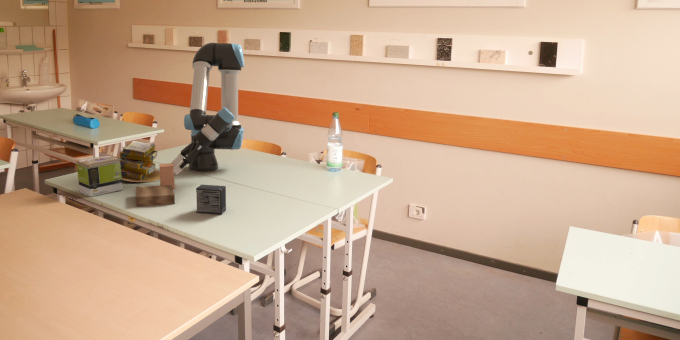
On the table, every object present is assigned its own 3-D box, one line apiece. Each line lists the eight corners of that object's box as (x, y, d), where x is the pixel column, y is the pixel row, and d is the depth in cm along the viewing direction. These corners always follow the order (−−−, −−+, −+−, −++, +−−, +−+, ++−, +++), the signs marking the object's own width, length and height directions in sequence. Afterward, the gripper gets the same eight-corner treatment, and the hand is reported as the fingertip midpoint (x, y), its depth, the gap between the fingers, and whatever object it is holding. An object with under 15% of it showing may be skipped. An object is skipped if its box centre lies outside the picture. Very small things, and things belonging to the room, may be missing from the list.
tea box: (111, 185, 247) (109, 154, 243) (123, 190, 241) (121, 158, 237) (78, 192, 236) (75, 159, 232) (89, 197, 229) (87, 163, 226)
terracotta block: (174, 186, 250) (173, 163, 248) (174, 189, 246) (173, 165, 243) (160, 187, 248) (159, 163, 245) (160, 190, 244) (159, 166, 241)
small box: (226, 209, 222) (226, 185, 219) (221, 215, 215) (221, 189, 213) (201, 208, 222) (201, 183, 220) (196, 213, 216) (195, 188, 214)
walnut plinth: (172, 193, 239) (172, 184, 238) (174, 203, 226) (174, 194, 225) (136, 195, 234) (135, 186, 233) (136, 206, 221) (136, 197, 220)
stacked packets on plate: (173, 173, 272) (172, 141, 268) (143, 186, 248) (141, 150, 244) (131, 168, 278) (129, 136, 274) (97, 180, 255) (95, 145, 250)
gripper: (197, 125, 257) (165, 157, 255) (204, 135, 234) (169, 170, 233) (208, 136, 260) (177, 168, 258) (216, 146, 238) (182, 181, 236)
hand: (173, 169), depth 245 cm, fingers open, 13 cm apart
